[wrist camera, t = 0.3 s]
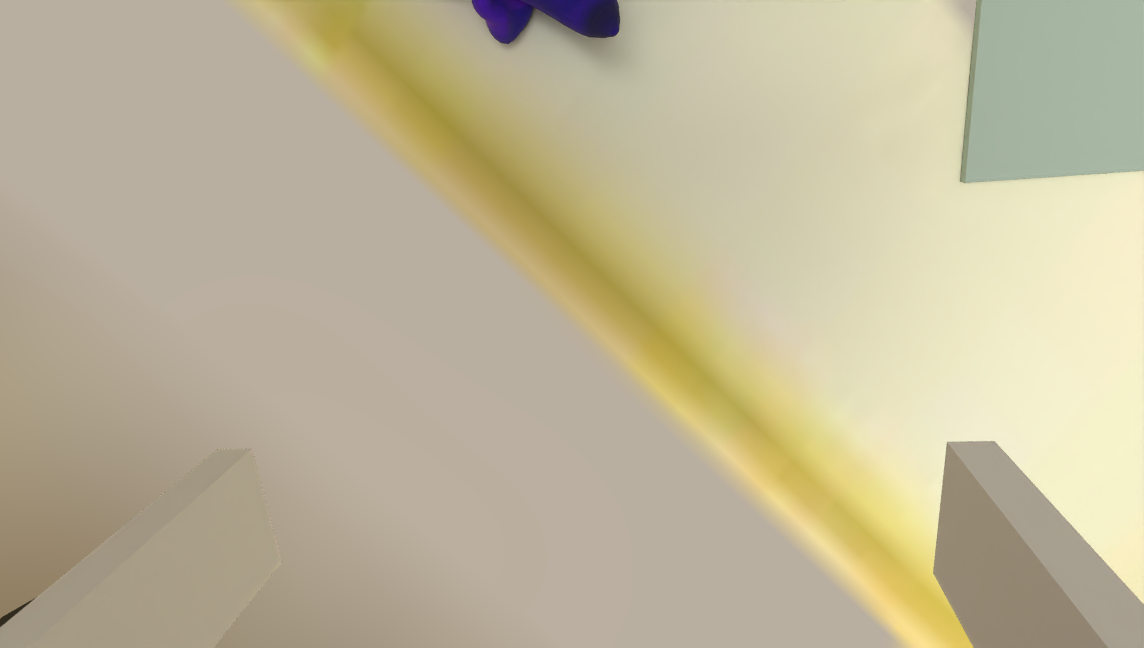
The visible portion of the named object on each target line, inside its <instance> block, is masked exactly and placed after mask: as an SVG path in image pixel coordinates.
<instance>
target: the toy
mask: <svg viewBox="0 0 1144 648" xmlns="http://www.w3.org/2000/svg"><path fill="white" fill-rule="evenodd" d="M472 3H473V6H474V9H475V10H476V12H477V13H478V14H479V15H480V16H481V17H482V18H484V19H485V20H486V23H487V26H488V28H489V31H490V32H491V34H492V35H493V37H494V38H495V39H496V40H498V41H499V42H501V43H505V44H509V43H511V42H512V41H514V39H515V38H516V37H517V36H518V35H519V34H520V32H521V31H522V30H523V29H524V27H525V26H526V25H527V23H528V21H529V19H530V17H531V15H532V11H533V7H535V8H536V9H538V10H540V11H542V12H544V13H545V14H547V15H549V16H551V17H552V18H554V19H556V20H557V21H559V22H560V23H562V24H563V25H565V26H567V27H569V28H571V29H572V30H574V31H576V32H578V33H580V34H582V35H585V36H588V37H596V38H606V37H613V36H615V35H617V34H618V32H619V24H620V16H619V6H618V2H617V0H472Z"/></svg>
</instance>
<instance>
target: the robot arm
mask: <svg viewBox="0 0 1144 648" xmlns="http://www.w3.org/2000/svg"><path fill="white" fill-rule="evenodd" d="M281 562H282V561H281V557H280V553H279V549H278V546H277V542H276V538H275V535H274V530H273V527H272V523H271V519H270V515H269V512H268V508H267V504H266V500H265V496H264V493H263V489H262V485H261V481H260V477H259V474H258V470H257V466H256V462H255V459H254V455H253V451H252V449H217V450H215V451H214V452H213V453H212V454H211V455H209V456H208V457H207V458H206V459H204V460H203V461H202V462H201V463H200V464H198V465H197V466H196V467H195V468H194V469H193V470H191V471H190V472H189V473H187V474H186V475H185V476H184V477H183V478H182V479H180V480H179V481H178V482H177V483H175V484H174V485H173V486H172V487H170V488H169V489H168V490H167V491H166V492H164V493H163V494H162V495H161V496H159V497H158V498H157V499H156V500H155V501H153V502H152V503H151V504H150V505H148V506H147V507H146V508H145V509H144V510H142V511H141V512H140V513H139V514H138V515H136V516H135V517H134V518H133V519H131V520H130V521H129V522H128V523H127V524H125V525H124V526H123V527H122V528H121V529H119V530H118V531H117V532H116V533H114V535H112V536H111V537H110V538H108V539H107V540H106V541H105V542H103V544H101V545H100V546H99V547H98V548H96V549H95V550H94V551H93V552H91V553H90V554H89V555H88V556H86V557H85V558H84V559H83V560H82V561H80V562H79V563H78V564H77V565H76V566H74V567H73V568H72V569H71V570H69V571H68V572H67V573H66V574H65V575H64V576H62V577H61V578H60V579H58V580H57V581H56V582H55V583H54V584H52V585H51V586H50V587H49V588H47V589H46V590H45V591H44V592H43V593H41V594H40V595H39V596H38V597H36V598H35V599H33V600H31V601H29V602H28V603H26V604H24V605H22V606H21V607H19V608H17V609H16V610H14V611H12V612H10V613H8V614H7V615H5V616H3V617H2V618H1V619H0V648H214V647H215V645H216V644H217V642H219V640H220V639H221V638H222V636H223V635H224V634H225V633H226V632H227V630H228V629H229V628H230V626H231V625H232V624H233V623H234V621H235V620H236V619H237V618H238V616H239V615H240V614H241V613H242V611H243V610H244V609H245V607H246V606H247V605H248V604H249V603H250V601H251V600H252V599H253V598H254V596H255V595H256V594H257V593H258V591H259V590H260V589H261V588H262V586H263V585H264V584H265V582H266V581H267V580H268V579H269V577H270V576H271V575H272V574H273V573H274V571H275V570H276V569H277V567H278V566H279V565H280V564H281ZM933 574H934V575H935V577H936V579H937V581H938V583H939V585H940V586H941V588H942V590H943V592H944V594H945V596H946V598H947V599H948V601H949V603H950V605H951V607H952V609H953V610H954V612H955V614H956V616H957V618H958V620H959V621H960V623H961V625H962V627H963V629H964V631H965V632H966V634H967V636H968V638H969V640H970V642H971V643H972V645H973V647H974V648H1144V604H1143V603H1142V602H1141V601H1140V600H1139V599H1138V598H1137V597H1136V595H1135V594H1134V593H1133V592H1132V591H1131V590H1130V589H1129V588H1128V587H1127V586H1126V585H1125V583H1124V582H1123V581H1122V580H1121V579H1120V578H1119V577H1118V576H1117V575H1116V574H1115V572H1114V571H1113V570H1112V569H1111V568H1110V567H1109V566H1108V565H1107V564H1106V563H1105V562H1104V560H1103V559H1102V558H1101V557H1100V556H1099V555H1098V554H1097V553H1096V552H1095V551H1094V549H1093V548H1092V547H1091V546H1090V545H1089V544H1088V543H1087V542H1086V541H1085V540H1084V539H1083V537H1082V536H1081V535H1080V534H1079V533H1078V532H1077V531H1076V530H1075V529H1074V528H1073V527H1072V525H1071V524H1070V523H1069V522H1068V521H1067V520H1066V519H1065V518H1064V517H1063V516H1062V514H1061V513H1060V512H1059V511H1058V510H1057V509H1056V508H1055V507H1054V506H1053V505H1052V504H1051V502H1050V501H1049V500H1048V499H1047V498H1046V497H1045V496H1044V495H1043V494H1042V493H1041V491H1040V490H1039V489H1038V488H1037V487H1036V486H1035V485H1034V484H1033V483H1032V482H1031V481H1030V479H1029V478H1028V477H1027V476H1026V475H1025V474H1024V473H1023V472H1022V471H1021V470H1020V469H1019V467H1018V466H1017V465H1016V464H1015V463H1014V462H1013V461H1012V460H1011V459H1010V458H1009V456H1008V455H1007V454H1006V453H1005V452H1004V451H1003V450H1002V449H1001V448H1000V447H999V446H998V444H997V443H996V442H995V441H979V442H947V447H946V457H945V466H944V475H943V485H942V494H941V503H940V513H939V522H938V531H937V541H936V550H935V560H934V569H933Z"/></svg>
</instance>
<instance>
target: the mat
mask: <svg viewBox="0 0 1144 648" xmlns="http://www.w3.org/2000/svg"><path fill="white" fill-rule="evenodd" d="M1143 170H1144V0H977V2H976V13H975V24H974V35H973V46H972V57H971V69H970V80H969V91H968V102H967V113H966V125H965V136H964V147H963V158H962V169H961V182H964V183H969V182H984V181H998V180H1013V179H1027V178H1042V177H1056V176H1071V175H1085V174H1100V173H1114V172H1129V171H1143Z"/></svg>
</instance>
